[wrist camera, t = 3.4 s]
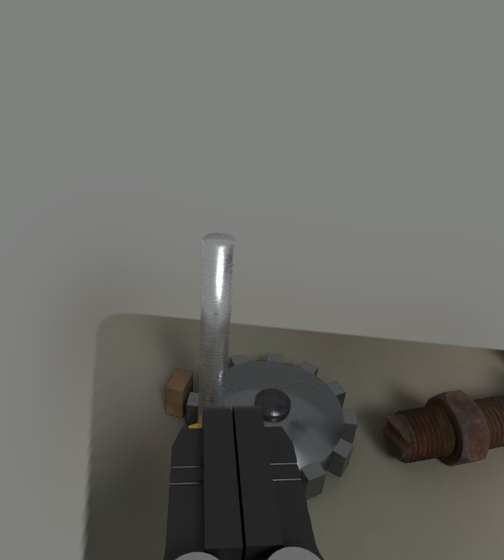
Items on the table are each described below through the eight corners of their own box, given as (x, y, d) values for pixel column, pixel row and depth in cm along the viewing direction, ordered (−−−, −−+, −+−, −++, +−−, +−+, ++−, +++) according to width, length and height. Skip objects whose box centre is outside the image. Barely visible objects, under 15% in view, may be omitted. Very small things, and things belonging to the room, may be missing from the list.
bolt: (376, 466, 32) (555, 435, 35) (417, 501, 27) (622, 462, 30) (371, 383, 31) (552, 360, 35) (412, 404, 26) (618, 375, 30)
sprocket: (297, 357, 38) (326, 186, 30) (386, 465, 29) (457, 264, 22) (165, 392, 33) (161, 201, 26) (225, 533, 24) (245, 306, 17)
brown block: (192, 398, 33) (192, 372, 32) (182, 418, 31) (182, 391, 30) (177, 394, 33) (177, 368, 32) (166, 413, 32) (165, 387, 30)
